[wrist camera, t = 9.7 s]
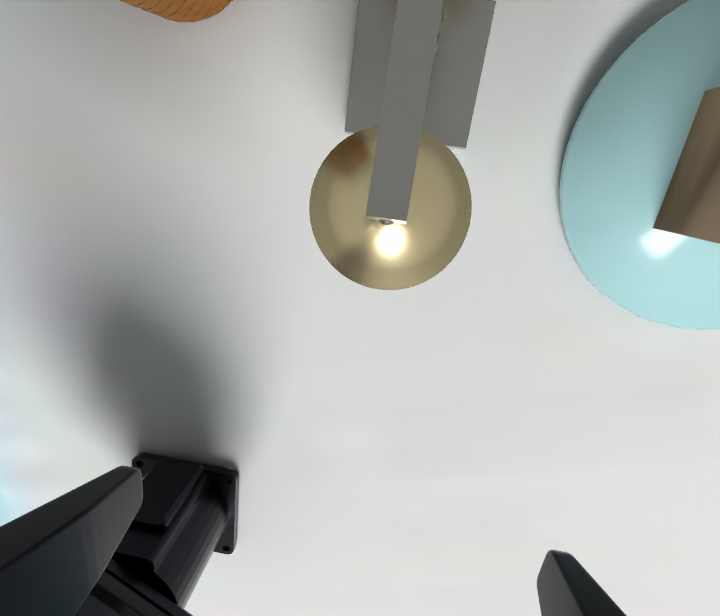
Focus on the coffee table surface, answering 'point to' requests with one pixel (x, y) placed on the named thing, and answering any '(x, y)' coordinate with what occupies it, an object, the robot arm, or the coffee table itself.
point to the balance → (403, 143)
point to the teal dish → (644, 173)
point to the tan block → (696, 178)
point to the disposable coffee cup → (181, 8)
